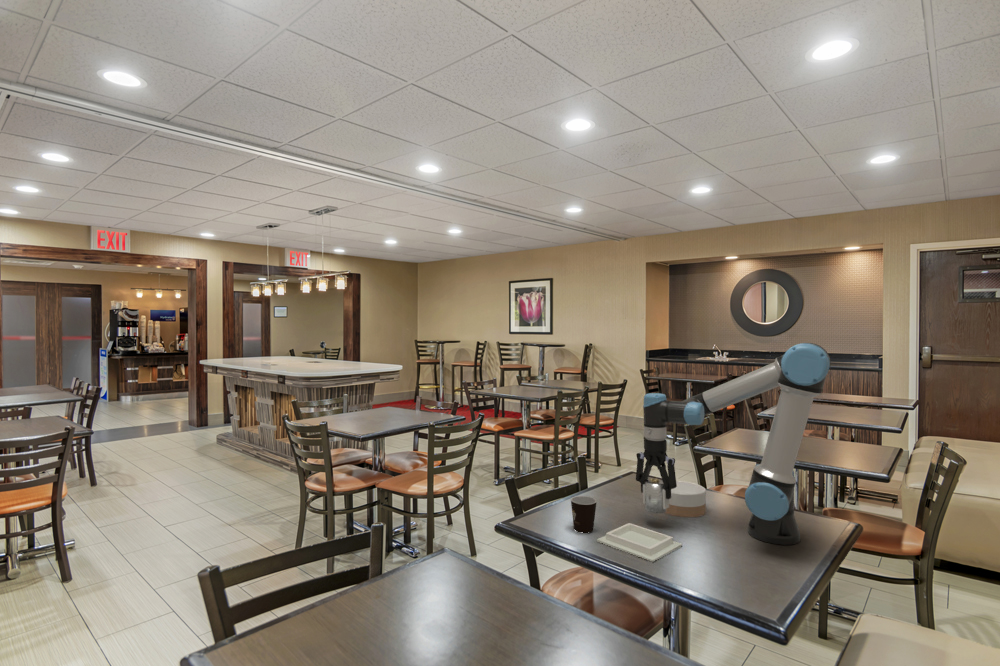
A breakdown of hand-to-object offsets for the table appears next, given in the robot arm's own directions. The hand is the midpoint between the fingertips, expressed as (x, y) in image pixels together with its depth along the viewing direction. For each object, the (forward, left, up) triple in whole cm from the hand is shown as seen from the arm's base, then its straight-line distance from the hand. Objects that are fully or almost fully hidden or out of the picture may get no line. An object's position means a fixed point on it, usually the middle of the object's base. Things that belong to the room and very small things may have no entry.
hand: (655, 505), depth 178 cm
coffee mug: (+15, +20, -7) cm, 26 cm away
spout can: (0, 0, -2) cm, 2 cm away
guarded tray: (-5, +18, -7) cm, 20 cm away
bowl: (+2, -22, -7) cm, 23 cm away
